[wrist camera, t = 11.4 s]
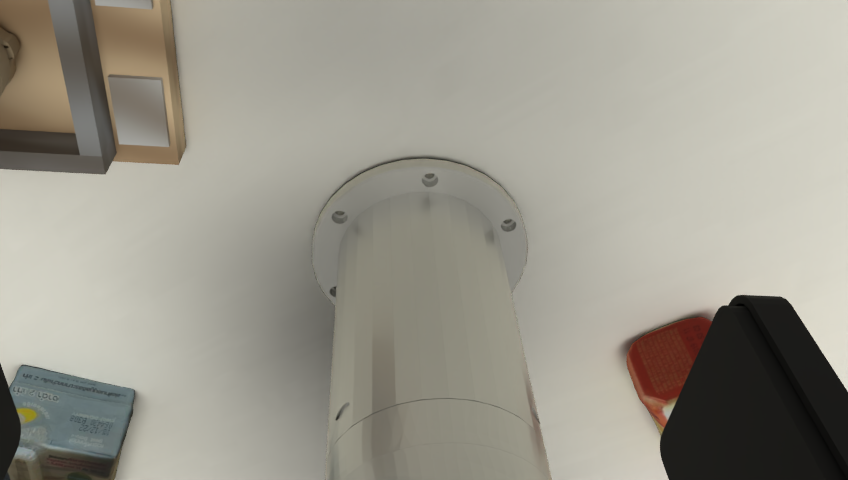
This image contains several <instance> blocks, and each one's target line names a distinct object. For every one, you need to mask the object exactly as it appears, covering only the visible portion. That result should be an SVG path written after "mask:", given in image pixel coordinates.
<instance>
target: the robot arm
mask: <svg viewBox="0 0 848 480" xmlns="http://www.w3.org/2000/svg"><path fill="white" fill-rule="evenodd" d="M429 173H432V174H429ZM428 174H429V175H428ZM527 251H528V244H527V236H526V230H525V227H524V223H523V220H522V217H521V214H520V212H519V210H518V208H517V207H516V205H515V203H514V201H513V200H512V198H511V197H510V196H509V195H508V194H507V193H506V192H505V190H504V189H503V188H502V187H501V186H500V185H498V184H497V183H496V182H494V181H493V180H492V179H490V178H489V177H488V176H486V175H485V174H482V173H480V172H478V171H476V170H474V169H472V168H470V167H468V166H465V165H461V164H457V163H454V162H450V161H445V160H435V159H410V160H401V161H397V162H392V163H388V164H384V165H380V166H378V167H376V168H373V169H371V170H369V171H366V172H364V173H362V174H360V175H359V176H357V177H355V178H354V179H352V180H351V181H349V182H348V183H346V184H345V185H344V186H343V187H342V188H341V189H340V190H339V191H337V192H336V193H335V194H334V195H333V196H332V197H331V198H330V200H329V201H328V203H327V204H326V206H325V207H324V209H323V210H322V212H321V213H320V216H319V219H318V221H317V224H316V226H315V229H314V236H313V242H312V265H313V269H314V273H315V277H316V279H317V281H318V283H319V285H320V287H321V289H322V291H323V293H324V294H325V295H326V296H327V298H328V299H329V300H330V301H331V302H332V304H333V305H334V306H335V320H334V336H333V352H332V368H331V385H330V401H329V417H328V433H327V449H326V465H325V480H552V478H551V473H550V469H549V464H548V459H547V455H546V451H545V447H544V442H543V437H542V432H541V428H540V423H539V418H538V414H537V409H536V405H535V400H534V395H533V391H532V386H531V382H530V377H529V372H528V368H527V363H526V359H525V354H524V350H523V345H522V340H521V336H520V331H519V327H518V322H517V317H516V313H515V308H514V304H513V299H512V294H511V293H512V292H513V290H514V289H515V287H516V285H517V284H518V282H519V280H520V279H521V276H522V274H523V271H524V268H525V265H526V261H527ZM20 436H21V423H20V418H19V415H18V413H17V410H16V407H15V404H14V401H13V398H12V395H11V393H10V390H9V387H8V384H7V381H6V378H5V376H4V373H3V370H2V367H1V364H0V480H4V478H5V475H6V473H7V471H8V469H9V467H10V464H11V462H12V460H13V458H14V456H15V453H16V451H17V448H18V446H19V442H20ZM660 452H661V458H662V461H663V464H664V467H665V470H666V473H667V475H668V478H669V480H848V392H847V390H846V388H845V387H844V385H843V384H842V382H841V381H840V379H839V378H838V376H837V375H836V373H835V372H834V370H833V368H832V367H831V365H830V364H829V362H828V361H827V359H826V358H825V356H824V355H823V353H822V352H821V350H820V348H819V347H818V345H817V344H816V342H815V341H814V339H813V338H812V336H811V335H810V333H809V331H808V330H807V328H806V327H805V325H804V324H803V322H802V321H801V319H800V318H799V316H798V315H797V313H796V311H795V310H794V308H793V307H792V305H791V304H790V303H789V302H788V301H787V300H786V299H784V298H782V297H775V296H750V295H739V296H736V297H735V298H733V299H732V300H731V302H730V303H729V305H728V306H722V307H720V308H719V309H718V311H717V312H716V314H715V317H714V319H713V321H712V323H711V326H710V328H709V330H708V332H707V334H706V337H705V339H704V341H703V343H702V346H701V348H700V350H699V352H698V354H697V357H696V359H695V361H694V363H693V365H692V368H691V370H690V372H689V374H688V377H687V379H686V381H685V383H684V385H683V388H682V390H681V392H680V394H679V397H678V399H677V401H676V403H675V405H674V408H673V410H672V412H671V414H670V416H669V419H668V421H667V423H666V425H665V428H664V430H663V432H662V435H661V440H660Z"/></svg>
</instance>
